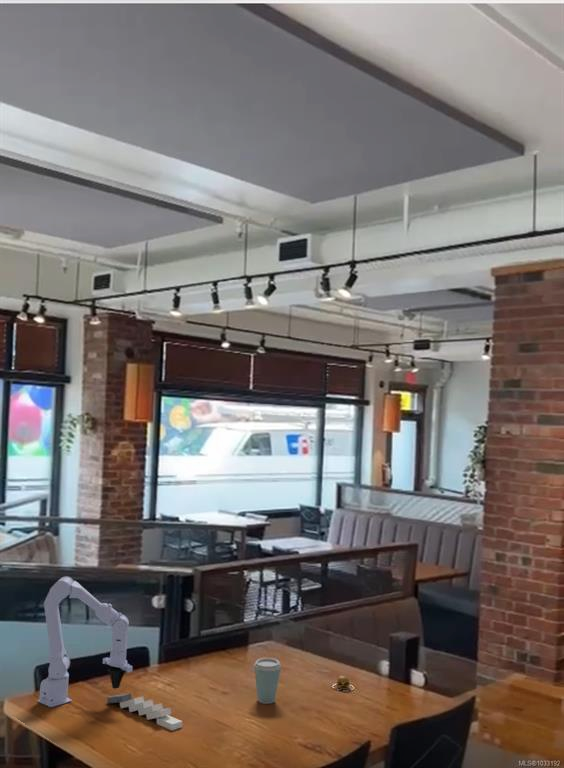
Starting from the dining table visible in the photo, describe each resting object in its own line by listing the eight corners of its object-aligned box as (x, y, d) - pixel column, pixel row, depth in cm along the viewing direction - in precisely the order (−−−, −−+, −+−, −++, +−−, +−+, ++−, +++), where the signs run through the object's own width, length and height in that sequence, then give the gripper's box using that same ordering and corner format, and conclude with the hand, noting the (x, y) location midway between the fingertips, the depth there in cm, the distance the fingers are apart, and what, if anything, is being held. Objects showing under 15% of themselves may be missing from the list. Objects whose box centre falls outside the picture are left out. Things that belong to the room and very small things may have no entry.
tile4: (139, 715, 269) (152, 711, 264) (138, 709, 269) (151, 705, 265) (149, 713, 272) (162, 708, 267) (148, 707, 273) (161, 702, 268)
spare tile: (107, 703, 279) (122, 702, 275) (107, 697, 280) (121, 696, 275) (117, 700, 283) (131, 699, 278) (116, 694, 283) (130, 693, 279)
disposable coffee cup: (276, 707, 285) (278, 666, 287) (248, 703, 288) (250, 663, 289) (281, 698, 296) (284, 658, 297) (254, 694, 298) (257, 655, 299)
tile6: (156, 723, 263) (172, 730, 257) (156, 717, 263) (172, 724, 258) (166, 720, 266) (181, 727, 261) (166, 714, 266) (182, 721, 261)
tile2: (120, 708, 275) (134, 704, 270) (119, 702, 275) (133, 698, 271) (130, 705, 278) (144, 701, 274) (129, 699, 279) (143, 696, 275)
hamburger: (360, 687, 317) (360, 674, 317) (354, 696, 305) (355, 682, 306) (331, 683, 320) (332, 670, 321) (325, 691, 309) (326, 678, 309)
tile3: (129, 712, 271) (144, 708, 267) (128, 706, 272) (142, 702, 268) (139, 709, 275) (153, 705, 271) (138, 703, 276) (152, 699, 271)
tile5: (147, 719, 265) (160, 717, 261) (146, 713, 266) (159, 710, 261) (157, 716, 269) (171, 714, 264) (156, 710, 269) (170, 707, 265)
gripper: (139, 652, 280) (137, 690, 279) (114, 643, 289) (111, 680, 288) (125, 655, 275) (122, 694, 274) (99, 647, 284) (96, 684, 283)
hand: (115, 687), depth 280 cm, fingers closed
